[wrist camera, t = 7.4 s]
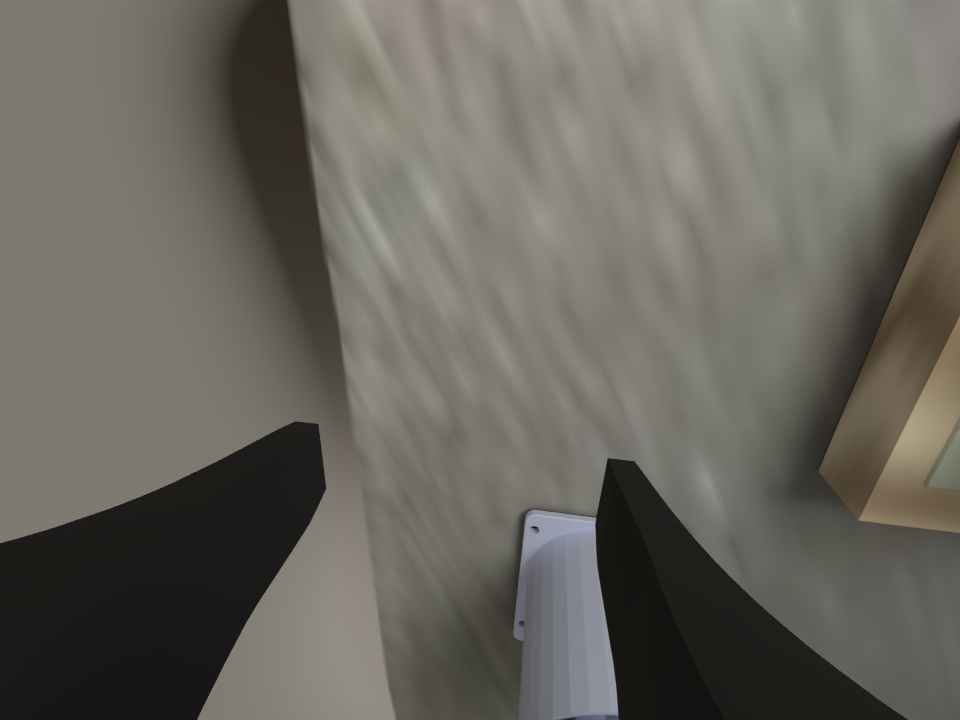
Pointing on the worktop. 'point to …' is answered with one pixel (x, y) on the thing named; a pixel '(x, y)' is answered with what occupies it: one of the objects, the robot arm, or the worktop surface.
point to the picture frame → (910, 390)
